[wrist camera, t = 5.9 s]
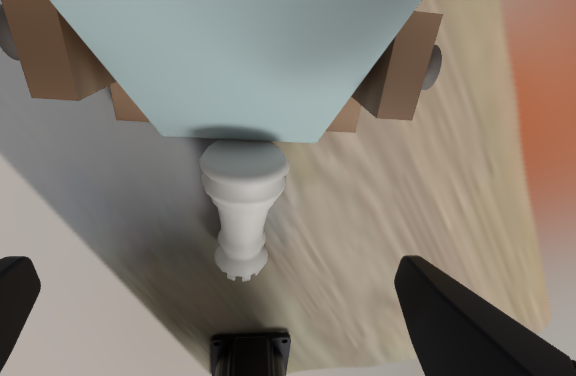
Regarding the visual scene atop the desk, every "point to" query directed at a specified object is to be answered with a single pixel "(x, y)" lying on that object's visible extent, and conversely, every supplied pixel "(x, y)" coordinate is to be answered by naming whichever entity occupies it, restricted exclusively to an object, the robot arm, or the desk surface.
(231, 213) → the rook chess piece
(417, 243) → the desk surface
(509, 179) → the desk surface
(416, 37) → the flap frame
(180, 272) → the desk surface
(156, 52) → the pivoting flap
